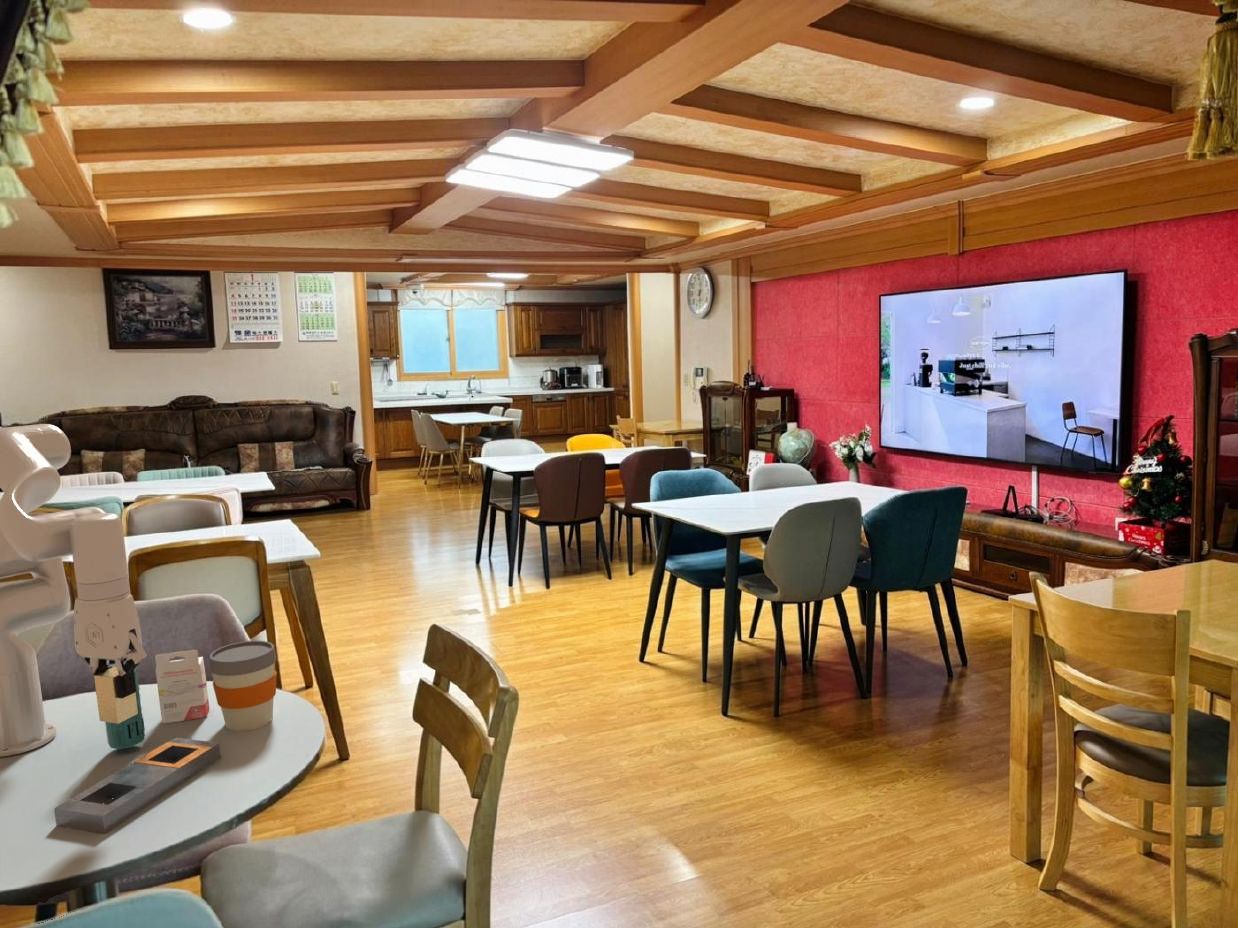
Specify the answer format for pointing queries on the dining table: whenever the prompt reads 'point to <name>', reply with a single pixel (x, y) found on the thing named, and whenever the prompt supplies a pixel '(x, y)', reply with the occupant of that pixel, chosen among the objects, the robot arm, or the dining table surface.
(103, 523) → the robot arm
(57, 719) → the dining table surface
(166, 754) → the grey flat rectangular block
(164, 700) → the ink cartridge box
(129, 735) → the beverage bottle
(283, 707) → the dining table surface
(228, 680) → the reusable coffee cup
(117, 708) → the wooden block
